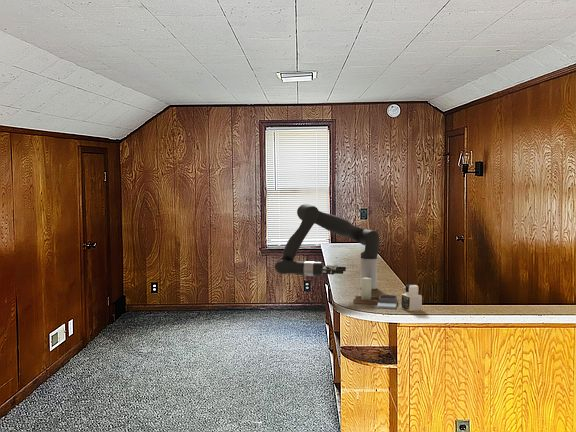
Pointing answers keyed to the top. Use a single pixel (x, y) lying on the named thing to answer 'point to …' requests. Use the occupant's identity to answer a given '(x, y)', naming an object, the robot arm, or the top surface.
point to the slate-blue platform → (387, 305)
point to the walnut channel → (372, 301)
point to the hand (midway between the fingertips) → (344, 270)
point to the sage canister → (366, 289)
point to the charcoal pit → (388, 299)
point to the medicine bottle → (411, 298)
